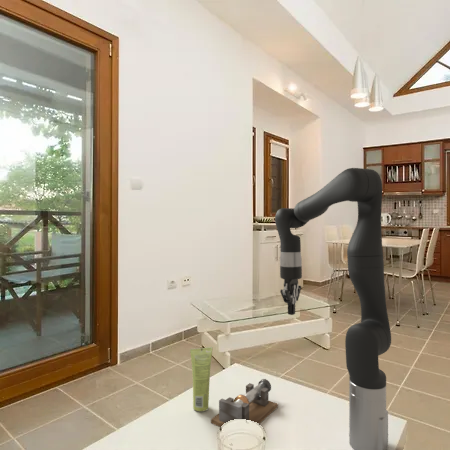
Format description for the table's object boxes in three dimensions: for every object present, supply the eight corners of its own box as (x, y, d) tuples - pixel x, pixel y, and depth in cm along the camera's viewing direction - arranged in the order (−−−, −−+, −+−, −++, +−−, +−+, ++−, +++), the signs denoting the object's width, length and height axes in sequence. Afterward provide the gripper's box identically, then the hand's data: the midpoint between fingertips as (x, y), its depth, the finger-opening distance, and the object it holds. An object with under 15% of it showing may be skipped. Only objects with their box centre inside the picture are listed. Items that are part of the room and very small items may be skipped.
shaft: (271, 394, 119) (271, 380, 120) (240, 419, 104) (240, 403, 104) (259, 390, 122) (259, 376, 122) (227, 414, 107) (227, 398, 107)
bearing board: (277, 407, 115) (277, 385, 115) (244, 437, 99) (244, 411, 99) (246, 396, 122) (246, 376, 122) (211, 423, 106) (211, 399, 106)
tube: (200, 402, 118) (200, 344, 118) (212, 406, 116) (212, 346, 116) (189, 409, 114) (190, 349, 114) (202, 414, 111) (202, 352, 111)
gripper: (292, 267, 117) (293, 319, 116) (308, 263, 127) (308, 311, 127) (272, 266, 121) (273, 316, 121) (288, 262, 132) (289, 309, 131)
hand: (291, 314), depth 124 cm, fingers closed
